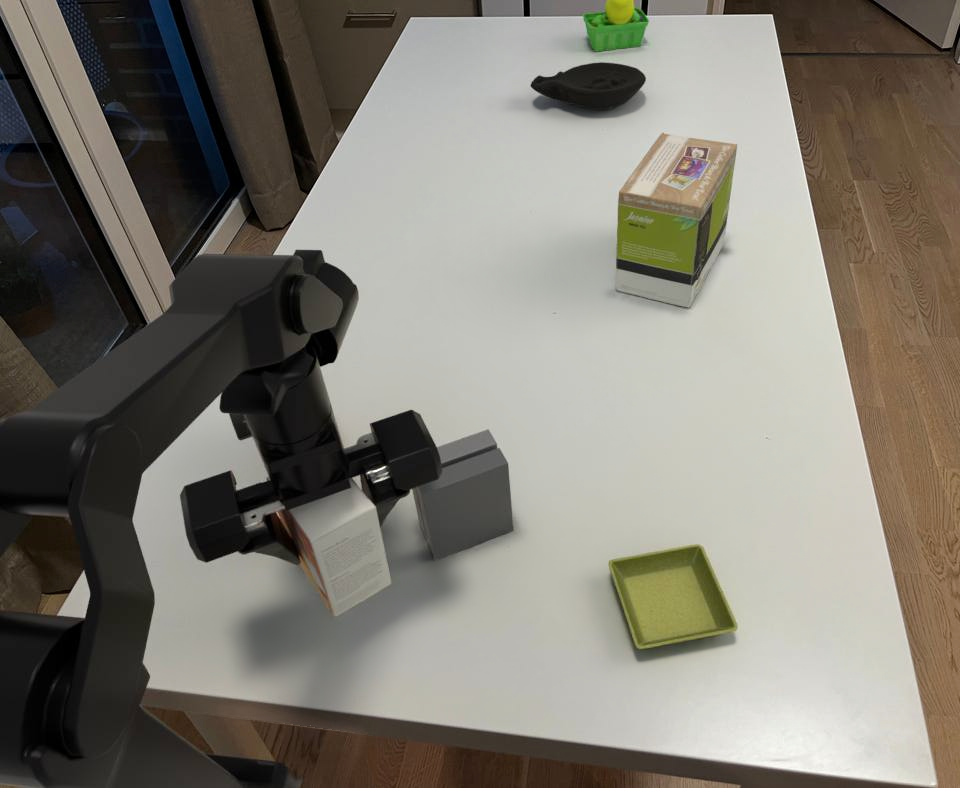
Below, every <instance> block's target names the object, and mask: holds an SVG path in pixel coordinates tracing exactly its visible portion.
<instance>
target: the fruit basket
mask: <svg viewBox="0 0 960 788" xmlns="http://www.w3.org/2000/svg"><path fill="white" fill-rule="evenodd" d="M604 10H605V11H597V12H589V13H584V14H583V15H582V18H583V22H584V23H585V28H586V34H587V38H588V42H589V44H590V46H591V48H592V49H593V51H594V52H603V51H613V50H621V49H628V48H638V47H641V44H642V41H643V38H644V35H645V32H646V29H647V27H648V25H649V22H650V19H649V18H648V17H647V15H646V14H645V13H644V11H643V10H642V9H641V8H639V7H635V2H634V0H606V2H605V4H604Z"/></svg>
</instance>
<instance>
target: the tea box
mask: <svg viewBox="0 0 960 788" xmlns="http://www.w3.org/2000/svg"><path fill="white" fill-rule="evenodd" d="M737 151H738V143H729V142H724V141H723V142H722V141H715V140H708V139H702V138H697V137H696V138H695V137H688V136H683V135H675V134H668V133H664V132H661V134H660V135H659V136H658V137H657V139H656V140H655V141H654V143H653V144H652V145H651V147H650V148H649V150H648V151H647V153H646V154H645V155H644V156H643V158H642V160H641V161H640V162H639V164H638V165H637V166H636V168H634V170H633V172H632V173H631V175H630V176H629V177H628V178H627V180H626V181H625V182H624V185H622V187H621V188H620V190H619V191H618V197H617V198H618V199H617V200H618V201H617V226H616V252H615V254H616V255H615V264H616V265H615V287H614V288H615V290H617V292H621V293H625V294H629V295H633V296H638V297H641V298H645V299H650V300H653V301H658V302H662V303H665V304H669V305H675V306H678V307H683V308H690V307H691V305H692V303H693V301H694V299H695V298H696V296H697V295H698V292H699V291H700V289H701V286H702V285H703V283H704V281H705V279H706V278H707V276H708V274H709V272H710V270H711V268H712V267H713V264H714V262H715V261H716V259H717V258H718V256H719V254H720V253H721V250H722V248H723V246H724V244H725V239H726V232H727V224H728V216H729V211H730V202H731V200H730V199H731V192H732V187H733V180H734V179H733V178H734V172H735V165H736V157H737Z"/></svg>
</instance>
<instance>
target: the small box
mask: <svg viewBox="0 0 960 788" xmlns="http://www.w3.org/2000/svg"><path fill="white" fill-rule="evenodd" d="M265 479H266V481H269V480H270V478H269V476H268V475H267V477H266V478H265ZM349 482H350V485H351V488H350V489H347V490H344V491H341V492H338V493H335V494H333V495H330V496H327V497H324V498H321V499H318V500H316V501H313V502H310V503H307V504H304V505H301V506H299V507H296V508H293V509H290V510H287V511H286V509H283V510H280V511H277V515H278V517H279V518H280V520H281V521H282V523H283V525H284V526H285V528H286V530H287V531H288V533H289V535H290V536H291V538H292V539H293V542H294V544H295V546H296V549H297V551H298V554H299V557H300V561H301V564H299V566H300V567H301V568H302V571H304V573H305V574H306V576H307V578H308V579H309V581H310V583H311V584H312V586H313V587H314V589H315V590H316V592H317V593H318V595H319V597H320V598H321V600H322V601H323V603H324V604H325V606H326V607H327V609H328V610H329V612H330V614H331V615H332V617H333V618H336V617H338V616H339V615H342V614H343V613H345V612H346V611H348V610H350V609H351V608H353V607H355V606H357V605H359V604H360V603H362V602H363V601H365V600H367V599H369V598H370V597H371V596H373V595H375V594H377V593H379V592H380V591H382V590H383V589H385V588H387V587H388V586H391V584H392V579H391V575H390V574H391V573H390V569H389V568H390V567H389V565H388V559H387V554H386V550H385V544H384V540H383V534H382V531H381V530H382V529H381V528H380V525H379V520H378V515H377V510H376V506H375V505H374V504H373V503H372V502H371V501H370V500H369V498H368V497H367V496H366V495H365V494H364V493H363V491H362V488H361V487H360V486H359V485H358V484H357V482H356V481H355V480H354V478H350V479H349Z"/></svg>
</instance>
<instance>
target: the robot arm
mask: <svg viewBox="0 0 960 788" xmlns="http://www.w3.org/2000/svg"><path fill="white" fill-rule="evenodd" d="M168 291H169V296H170V306H169V307H168V308H167V309H166V310H165V311H164V312H163V313H162V314H161V315H159V316H158V317H156V318H155V319H154V320H153V321H150V323H148V324H146V325H145V326H143V327H142V328H141V329H139V330H138V331H136V332H135V333H134V334H133V335H131V336H130V337H128V338H127V339H125V340H124V341H123V342H121V343H120V344H119V345H118V346H116V347H115V348H113V349H112V350H110V351H109V352H107V353H106V354H104V356H102V357H100V358H99V359H98V360H96V361H95V362H93V363H91V365H89V366H87V367H86V368H85V369H83V370H82V371H81V372H80V373H78V374H76V375H75V376H74V377H72V378H71V379H70V380H68V381H67V382H65V383H64V384H63V385H61V386H60V387H58V388H57V389H56V390H54V391H53V392H51V393H50V394H48V395H47V396H46V397H44V398H43V399H42V400H40V401H39V402H37V403H36V404H34V405H33V406H31V407H30V408H29V409H27V410H24V411H21V412H18V413H13V414H12V415H10V416H8V417H5V418H2V419H0V558H2V556H3V555H4V554H5V553H6V551H7V550H8V549H9V548H10V546H11V545H12V544H13V543H14V542H15V540H16V539H17V538H18V537H19V536H20V534H21V533H22V532H23V530H24V529H25V528H26V527H27V525H28V524H29V523H30V522H31V521H32V519H33V516H34V515H35V516H45V517H46V516H47V517H61V518H69V520H70V524H71V528H72V531H73V535H74V539H75V542H76V546H77V550H78V553H79V556H80V562H81V564H82V567H83V572H84V575H85V578H86V584H87V586H88V589H89V599H88V603H87V607H86V610H85V616H84V617H79V616H69V615H68V616H67V615H57V614H46V613H45V614H44V613H35V612H26V611H25V612H24V611H13V610H4V609H3V610H1V609H0V785H4V786H12V787H18V788H19V787H20V788H301V786H302V784H303V779H304V778H303V777H302V776H296V775H293V774H292V772H291V770H290V768H289V766H287V765H285V764H284V763H283V762H281V761H276V760H269V759H268V760H266V759H259V758H250V757H240V756H232V755H225V754H216V753H207V752H203V751H202V750H200V749H199V748H198V747H196V746H195V745H194V744H192V743H191V742H190V741H188V740H187V739H186V738H185V737H183V736H182V735H181V734H179V733H178V732H177V731H175V730H174V729H173V728H172V727H170V726H169V725H168V724H166V723H165V722H164V721H162V720H161V719H160V718H158V717H157V716H156V715H154V714H153V713H152V712H151V711H149V710H147V708H145V707H143V705H142V704H141V703H142V700H143V698H144V696H145V693H146V690H147V687H148V684H149V682H150V679H151V674H150V673H149V670H148V668H147V667H146V665H145V664H144V659H145V654H146V649H147V644H148V640H149V634H150V629H151V626H152V625H151V623H152V619H153V614H154V609H155V604H156V599H155V598H156V597H155V591H154V587H153V584H152V581H151V577H150V574H149V570H148V567H147V564H146V560H145V557H144V554H143V551H142V548H141V544H140V541H139V537H138V534H137V531H136V526H135V525H134V514H135V510H136V505H137V500H138V495H139V491H140V487H141V483H142V479H143V478H142V477H143V474H144V473H145V472H146V471H147V470H148V469H149V468H150V467H151V466H152V464H154V463H155V462H156V460H157V459H158V458H160V456H161V455H162V454H164V452H165V451H167V449H168V448H169V447H170V446H171V445H173V443H174V442H175V441H176V440H177V439H178V438H179V437H180V436H181V435H182V434H183V433H184V431H186V430H187V429H188V428H189V427H190V426H191V425H192V424H193V423H194V422H195V421H196V419H198V418H199V416H201V415H202V413H203V412H205V410H206V409H208V407H209V406H210V405H211V404H212V403H213V402H214V401H215V400H216V399H217V398H218V397H219V396H220V398H219V411H220V413H222V414H228V415H229V418H230V421H231V424H232V427H233V429H234V432H235V434H236V437H237V439H238V440H239V441H240V442H241V441H245V440H247V439H250V438H253V442H254V444H255V447H256V449H257V451H258V453H259V456H260V459H261V461H262V463H263V466H264V469H265V471H266V473H267V477H268V476H269V478H270V480H269V481H267V480H266V481H263V482H262V481H261V482H258V483H255V484H252V485H249V486H246V487H243V488H240V489H237V484H238V483H237V479H236V477H235V474H234V472H233V470H231V469H230V470H228V471H224V472H222V473H218V474H215V475H212V476H210V477H207V478H204V479H200V480H197V481H195V482H192V483H189V484H186V485H184V486H183V488H182V489H181V492H180V494H179V500H180V506H181V513H182V517H183V525H184V530H185V536H186V539H187V542H188V545H189V547H190V549H191V551H192V553H193V554H194V556H195V558H196V559H197V560H198V561H200V562H203V563H206V564H207V563H211V562H212V561H213V562H214V561H215V560H219V559H221V558H224V557H226V556H229V555H233V554H234V553H238V554H240V555H248V554H252V553H256V554H260V555H264V556H269V557H274V558H277V559H280V560H282V561H285V562H287V563H290V564H293V565H295V566H298V565H300V564H301V561H300V557H299V554H298V551H297V549H296V546H295V544H294V542H293V539H292V538H291V536H290V535H289V533H288V531H287V530H286V528H285V526H284V525H283V523H282V521H281V520H280V517H279V514H278V511H280V510H283V509H286V511H287V510H290V509H293V508H296V507H299V506H301V505H304V504H307V503H310V502H313V501H316V500H318V499H321V498H324V497H327V496H330V495H333V494H335V493H338V492H341V491H344V490H347V489H350V488H351V485H350V482H349V479H350V478H352V479H354V478H355V477H358V476H359V477H360V488H361V490H362V491H363V493H364V494H365V495H366V496H367V497H368V498H369V500H370V501H371V502H372V503H373V504H374V505H375V506H376V510H377V515H378V520H379V525H380V529H381V528H382V526H383V525H384V522H385V521H386V519H387V517H388V515H389V514H390V513H391V511H392V510H393V509H394V507H395V506H396V505H397V504H398V502H399V501H400V500H401V499H404V498H406V497H407V496H409V495H410V494H411V490H412V489H413V488H416V487H418V486H421V485H424V484H427V483H430V482H432V481H435V480H438V479H439V477H440V476H441V474H442V472H443V470H442V464H441V459H440V455H439V452H438V449H437V447H438V446H437V445H436V443H435V441H434V439H433V436H432V435H431V433H430V431H429V429H428V427H427V424H426V423H425V421H424V419H423V417H422V415H421V413H420V412H417V411H415V410H413V409H409V410H406V411H403V412H400V413H397V414H394V415H391V416H388V417H385V418H382V419H379V420H376V421H373V422H370V423H369V427H370V432H369V433H366V434H364V435H361V436H359V438H357V440H356V444H354V445H351V446H349V447H345V446H344V444H343V440H342V436H341V432H340V430H339V427H338V423H337V420H336V416H335V412H334V410H333V407H332V402H331V400H330V396H329V392H328V389H327V386H326V383H325V379H324V376H323V372H322V369H321V367H324V366H326V365H329V364H334V363H335V362H336V361H337V358H338V355H339V353H340V350H341V348H342V345H343V342H344V340H345V338H346V335H347V332H348V330H349V328H350V325H351V322H352V320H353V317H354V314H355V312H356V310H357V306H358V304H359V299H360V296H359V289H358V285H357V284H356V283H354V282H353V280H352V279H351V278H350V276H348V274H347V273H346V272H345V271H343V270H342V269H341V268H339V267H338V266H335V265H334V264H331V263H329V262H326V261H325V257H324V253H323V250H322V249H295V251H294V252H293V254H243V253H242V254H240V253H239V254H237V253H235V254H234V253H233V254H232V253H201V254H198V255H197V256H195V257H194V258H192V260H191V261H190V262H189V263H188V264H187V266H185V267H184V269H183V270H182V271H181V272H180V273H179V274H178V275H177V276H176V277H175V278H174V279H173V281H172V282H171V283H170V284H169V286H168Z"/></svg>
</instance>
